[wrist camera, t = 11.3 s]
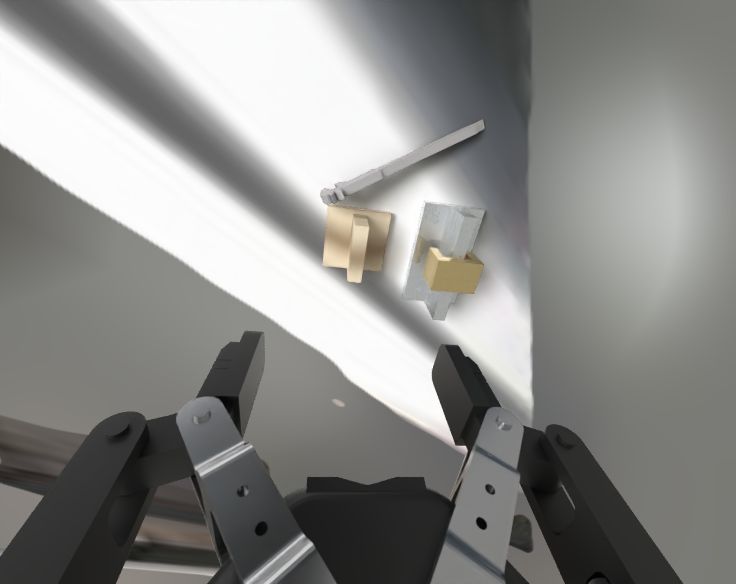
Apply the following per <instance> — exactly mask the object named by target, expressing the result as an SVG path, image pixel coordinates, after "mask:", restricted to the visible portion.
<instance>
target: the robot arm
mask: <svg viewBox="0 0 736 584" xmlns="http://www.w3.org/2000/svg"><path fill="white" fill-rule="evenodd" d="M264 361H265V351H264V332H257V331H245V332H244V334H243V336H242V338H241V341H240V342H230V343H229V344H227V345H226V346H225V347H224V348H223V349H221V351H220V353H219V355H218V357H217V359H216V361H215V363H214V364H213V366H212V369H211V370H210V373H209V374H208V376H207V378H206V380H205V382H204V384H203V386H202V388H201V390H200V391H199V393H198V395H197V397H196V399H194V400H192V401H190V402H188V403H186V404H185V405H184V406H183V407H182V408H181V409H180V410H179V412H178V413H175V414H173V415H169V416H165V417H161V418H156V419H151V420H148V421H146V419H145V417H144V416H143V415H142V414H140V413H138V412H123V413H119V414H116V415H113V416H111V417H109V418H107V419H105V420H103V421H102V422H100V423H99V424H98V425H97V426H96V427H95V428H94V429H93V430H92V431H91V432H90V434H89V435H88V436H87V438H86V439H85V441H84V442H83V443H82V445H81V446H80V448H79V449H78V450H77V452H76V453H75V454H74V456H73V457H72V459H71V460H70V461H69V463H68V464H67V465H66V467H65V468H64V470H63V471H62V472H61V474H60V475H59V476H58V478H57V479H56V481H55V482H54V483H53V485H52V486H51V487H50V489H49V490H48V492H47V493H46V494H45V496H44V497H43V498H42V500H41V502H40V503H39V504H38V506H37V507H36V508H35V510H34V511H33V512H32V514H31V515H30V516H29V518H28V519H27V521H26V522H25V523H24V525H23V526H22V528H21V529H20V530H19V532H18V533H17V534H16V536H15V537H14V538H13V540H12V541H11V543H10V544H9V545H8V547H7V548H6V549H5V551H4V552H3V554H2V555H1V556H0V584H116V582H117V580H118V577H119V575H120V573H121V571H122V568H123V566H124V564H125V561H126V559H127V557H128V554H129V552H130V550H131V548H132V545H133V543H134V541H135V538H136V536H137V534H138V531H139V529H140V527H141V525H142V522H143V520H144V518H145V515H146V513H147V511H148V508H149V506H150V504H151V502H152V499H153V497H154V495H155V492H156V490H157V488H158V486H161V485H164V484H167V483H170V482H174V481H177V480H180V479H184V478H187V477H190V480H191V483H192V485H193V488H194V491H195V493H196V496H197V499H198V501H199V504H200V507H201V509H202V512H203V515H204V517H205V520H206V523H207V526H208V529H209V533H210V536H211V539H212V542H213V545H214V548H215V551H216V553H217V556H218V559H219V561H220V564H221V568H220V569H219V570H218V572H217V573H216V574H215V575H214V576H213V578H212V579H211V580H210V581H209V582H208V583H207V584H529V583H528V582H527V581H526V580H525V579H524V578H523V576H521V574H520V573H519V572H518V571H517V570H516V569H515V568H514V567H513V566H512V565H511V564H510V563H509V562H508V560H507V559H506V558H507V552H508V546H509V540H510V535H511V529H512V523H513V517H514V511H515V505H516V499H517V493H518V488H519V483H520V485H521V487H522V489H523V491H524V493H525V496H526V498H527V500H528V502H529V505H530V507H531V509H532V511H533V514H534V515H535V518H536V520H537V522H538V525H539V527H540V529H541V531H542V534H543V536H544V538H545V540H546V543H547V545H548V547H549V549H550V551H551V554H552V556H553V558H554V560H555V562H556V564H557V567H558V569H559V571H560V574H561V576H562V578H563V580H564V583H565V584H683V583H682V581H681V580H680V579H679V577H678V576H677V574H676V573H675V571H674V570H673V569H672V567H671V566H670V564H669V563H668V561H667V560H666V559H665V557H664V556H663V554H662V553H661V552H660V550H659V549H658V547H657V546H656V545H655V543H654V542H653V540H652V539H651V537H650V536H649V535H648V533H647V532H646V530H645V529H644V528H643V526H642V525H641V524H640V522H639V520H638V519H637V518H636V516H635V515H634V513H633V512H632V511H631V509H630V508H629V506H628V505H627V503H626V502H625V501H624V499H623V498H622V496H621V495H620V494H619V492H618V491H617V489H616V488H615V487H614V485H613V484H612V482H611V481H610V480H609V478H608V477H607V475H606V474H605V473H604V471H603V470H602V468H601V467H600V466H599V464H598V463H597V461H596V460H595V458H594V457H593V455H592V454H591V453H590V451H589V450H588V448H587V447H586V446H585V444H584V443H583V441H582V440H581V439H580V438H579V437H578V436H577V435H576V434H575V433H574V432H572V431H571V430H569V429H567V428H565V427H563V426H560V425H555V424H552V425H549V426H547V428H546V429H545V431H544V432H542V431H539V430H536V429H533V428H530V427H526V426H523V425H522V423H521V421H520V420H519V419H518V417H517V416H516V415H514V414H513V413H512V412H510V411H508V410H506V409H504V408H502V407H501V406H500V404H499V402H498V400H497V399H496V397H495V395H494V393H493V392H492V390H491V388H490V386H489V385H488V383H486V379H485V378H484V376H483V375H482V372H481V371H480V369H479V367H478V365H477V364H476V363H475V362H474V361H473V360H471V359H470V358H469V357H465V356H464V354H463V353H462V351H461V349H460V347H459V346H458V345H445V344H442V345H441V346H440V348H439V351H438V354H437V357H436V360H435V363H434V366H433V369H432V381H433V384H434V387H435V390H436V392H437V395H438V398H439V401H440V404H441V406H442V409H443V412H444V415H445V417H446V420H447V423H448V426H449V428H450V431H451V434H452V437H453V439H454V442H455V445H457V446H466V447H467V450H468V451H467V454H466V456H465V458H464V461H463V464H462V467H461V469H460V472H459V475H458V477H457V480H456V483H455V485H454V488H453V491H452V493H451V496H450V498H449V499H448V498H446V497H445V496H444V495H442V494H440V493H439V492H437V491H434V490H432V489H430V488H427V487H426V485H425V481H424V477H395V478H392V479H388V480H385V481H381V482H379V483H375V484H371V485H364V484H360V483H357V482H353V481H349V480H346V479H342V478H339V477H308V478H307V487H305V488H301V489H298V490H296V491H294V492H292V493H290V494H288V495H287V496H285V497H284V498H282V496H281V495H280V493H279V491H278V489H277V487H276V486H275V484H274V482H273V480H272V479H271V477H270V475H269V473H268V472H267V470H266V468H265V467H264V465H263V463H262V461H261V460H260V458H259V456H258V455H257V453H256V451H255V449H254V448H253V446H252V445H251V444H250V443H249V442H248V443H245V442H244V441H243V436H244V433H245V430H246V427H247V423H248V420H249V417H250V414H251V410H252V407H253V404H254V400H255V397H256V394H257V390H258V387H259V384H260V381H261V377H262V374H263V370H264ZM562 485H564V487H565V489H566V491H567V492H568V494H569V496H570V498H571V499H572V501H573V503H574V506H575V509H574V508H573V506H572V504H571V502H570V500H569V499H568V497H567V495H566V493H565V492H564V490H563V488H562Z"/></svg>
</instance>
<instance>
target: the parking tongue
mask: <svg viewBox="0 0 736 584" xmlns="http://www.w3.org/2000/svg"><path fill="white" fill-rule="evenodd" d="M390 220H391V213H390V212H384V211H376V210H368V209H361V208H353V207H345V206H338V205H330V204H329V205H328V210H327V222H326V233H325V245H324V257H323V266H331V267H341V268H347V277H348V282H359V283H361V278H362V272H363V270H371V271H381V268H382V263H383V257H384V252H385V247H386V241H387V236H388V230H389V225H390Z"/></svg>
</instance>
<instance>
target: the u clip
mask: <svg viewBox="0 0 736 584" xmlns="http://www.w3.org/2000/svg"><path fill="white" fill-rule="evenodd" d="M483 266H484V264H483V263H482V262H481V261H480V260H479V259H478V258H477V257H476V256H475V255H474V254H473V253H472V252H470V251H467V252H466V255H465V258H464V259H458V258H449V257H444V256H443V255H442V254H441V253H440V251H439V250H438V249H437V248H432V247H429V251H428V255H427V259H426V263H425V267H424V271H423V277H424V279H425V281H426V283H427V285H428V286H429V288H430V290H432V291H444V292H456V293H467V294H474V292H475V289H476V286H477V284H478V281H479V278H480V275H481V272H482V269H483Z"/></svg>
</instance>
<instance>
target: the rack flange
mask: <svg viewBox="0 0 736 584" xmlns="http://www.w3.org/2000/svg"><path fill="white" fill-rule="evenodd" d="M484 212H485V210H483V209H480V208H472V207H465V206H458V205H451V204H443V203H436V202H429V201H423V206H422V210H421V214H420V219H419V223H418V227H417V232H416V236H415V240H414V245H413V249H412V253H411V258H410V262H409V266H408V271H407V275H406V279H405V284H404V288H403V292H402V297H403V299H411V300H422V301H424V302H425V304H426V306H427V308H428V310H429V312H430V314H431V316H432V319H433V320H445V317H446V314H447V311H448V308H449V305H450V303H455V300H456V297H457V294H458V293H456V292H444V291H432V290H430V288H429V286H428V285H427V283H426V281H425V279H424V277H423V271H424V267H425V263H426V259H427V255H428V251H429V247H432V248H437V249H438V250H439V251H440V253H441V254H442V255H443V256H444V257H449V258H458V259H464V258H465V255H466V252H467V251H470V252H472V249H473V246H474V243H475V240H476V237H477V234H478V231H479V228H480V225H481V222H482V219H483V215H484Z"/></svg>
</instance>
